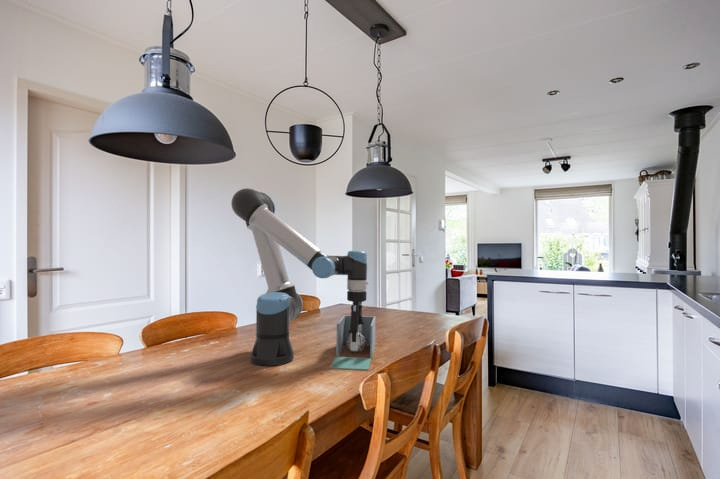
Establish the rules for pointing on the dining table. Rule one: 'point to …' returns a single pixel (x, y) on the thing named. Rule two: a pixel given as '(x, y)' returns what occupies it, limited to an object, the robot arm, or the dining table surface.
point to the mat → (351, 363)
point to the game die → (360, 342)
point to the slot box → (367, 332)
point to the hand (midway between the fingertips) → (356, 345)
